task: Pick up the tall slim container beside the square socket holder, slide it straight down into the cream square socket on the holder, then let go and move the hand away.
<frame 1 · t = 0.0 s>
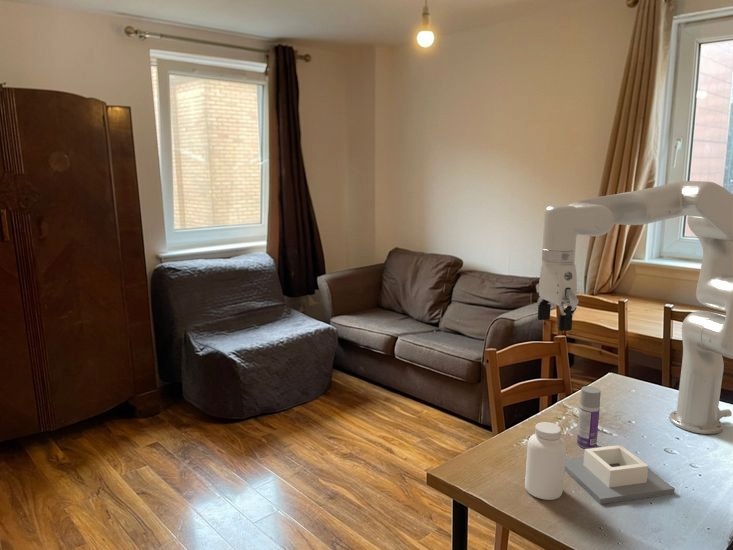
hand: (553, 324, 135), 31 cm above the table, tool pointing down, fingers open, 9 cm apart
pill bottle: (543, 491, 120), on the table
container: (586, 445, 139), on the table
square socket holder: (613, 478, 124), on the table
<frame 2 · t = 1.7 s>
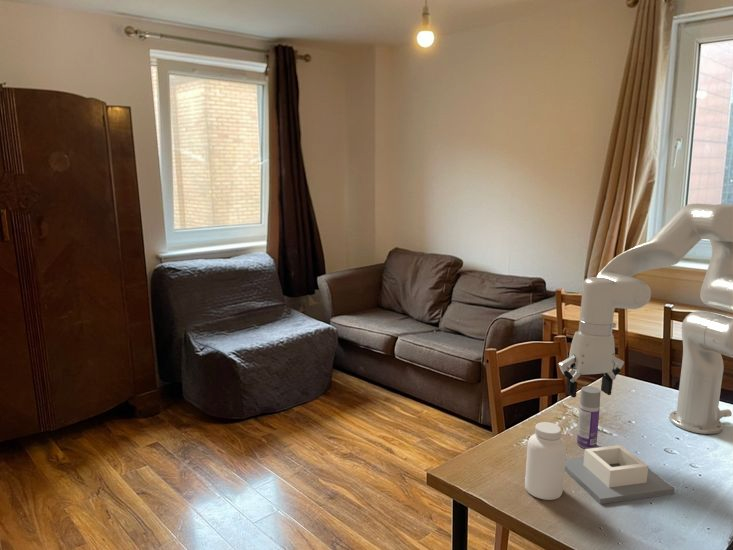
hand: (588, 394, 136), 14 cm above the table, tool pointing down, fingers open, 9 cm apart
nothing on the table moved.
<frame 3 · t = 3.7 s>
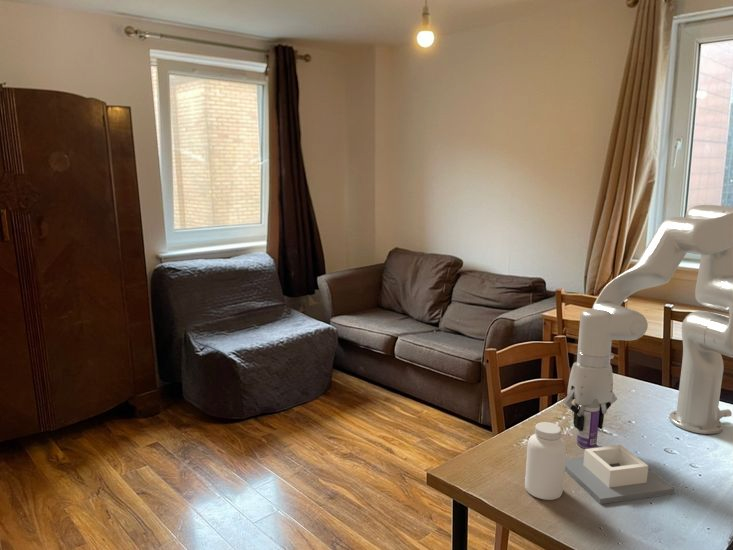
hand: (587, 426, 138), 5 cm above the table, tool pointing down, fingers closed on container, 4 cm apart
container: (586, 445, 139), on the table, touching gripper
everything else where it was.
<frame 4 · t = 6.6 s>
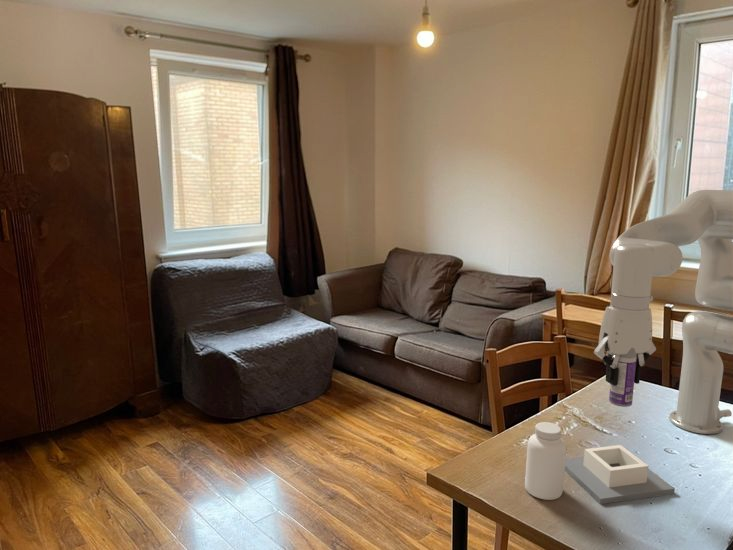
hand: (622, 381, 120), 23 cm above the table, tool pointing down, fingers closed on container, 4 cm apart
container: (620, 403, 121), point 18 cm above the table, touching gripper
everything else where it was.
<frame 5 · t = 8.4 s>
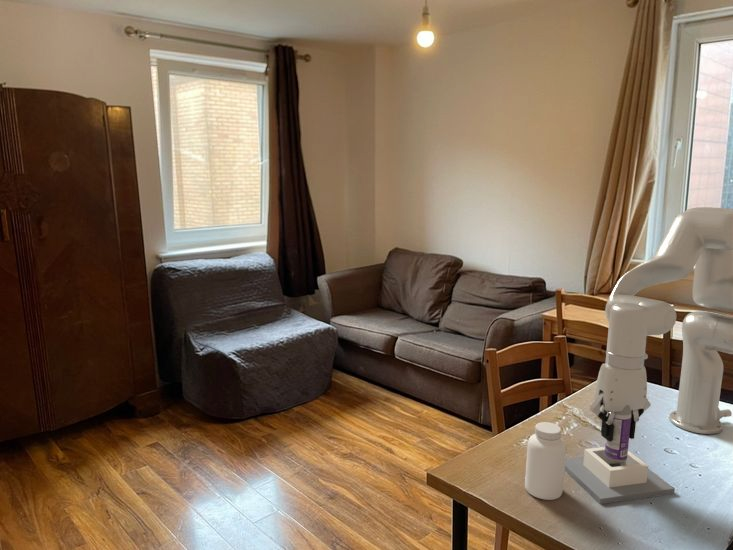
hand: (617, 436, 122), 10 cm above the table, tool pointing down, fingers closed on container, 4 cm apart
container: (615, 457, 123), point 5 cm above the table, touching gripper
everything else where it was.
when the fingers open (7 cm above the table, at t = 9.7 s): container stays where it is, resting on square socket holder.
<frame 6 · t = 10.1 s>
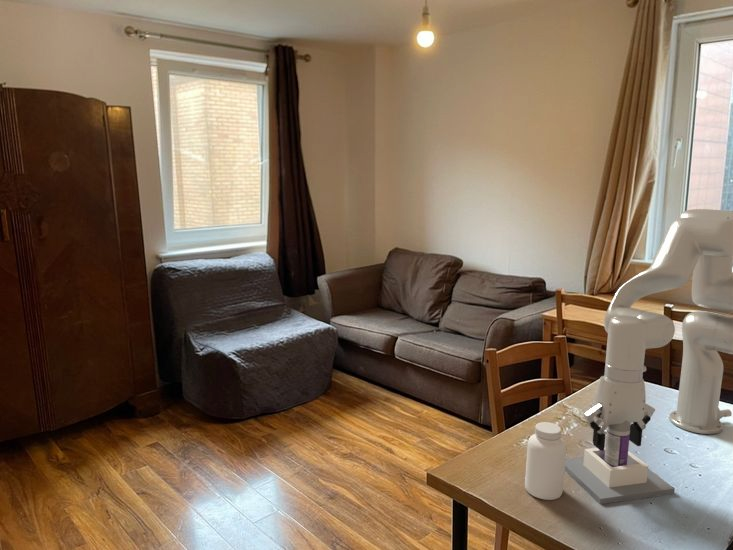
hand: (616, 445, 122), 8 cm above the table, tool pointing down, fingers open, 8 cm apart
container: (614, 472, 124), point 1 cm above the table, touching square socket holder
everything else where it was.
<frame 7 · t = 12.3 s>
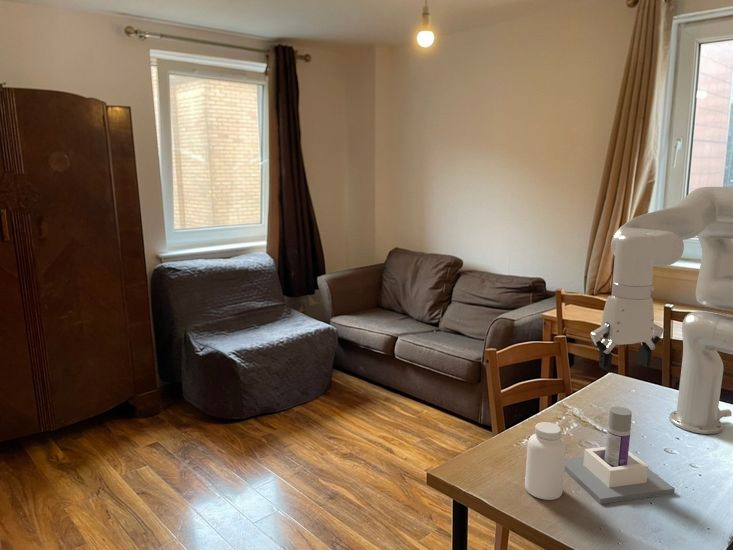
hand: (624, 367, 120), 26 cm above the table, tool pointing down, fingers open, 9 cm apart
nothing on the table moved.
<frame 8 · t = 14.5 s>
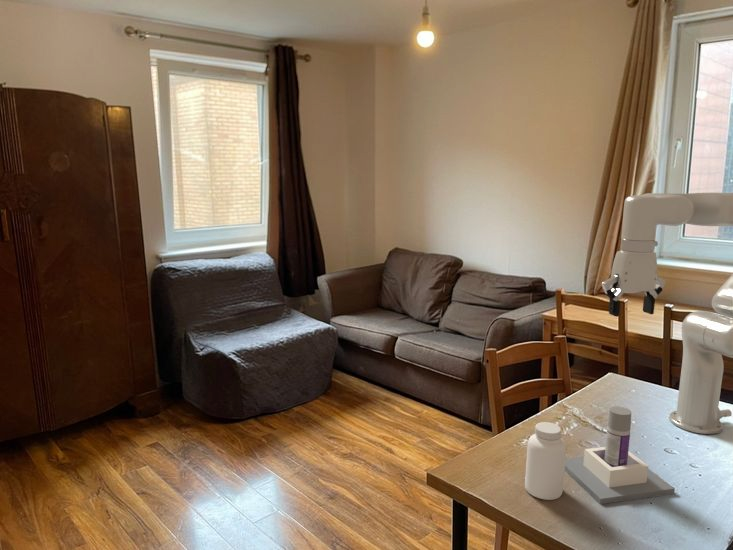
hand: (631, 314, 137), 33 cm above the table, tool pointing down, fingers open, 9 cm apart
nothing on the table moved.
at the end: container 0.2 cm off-centre on the square socket holder, point 1.2 cm above the square socket holder's base; container tilted 0°; the gripper is holding nothing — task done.
